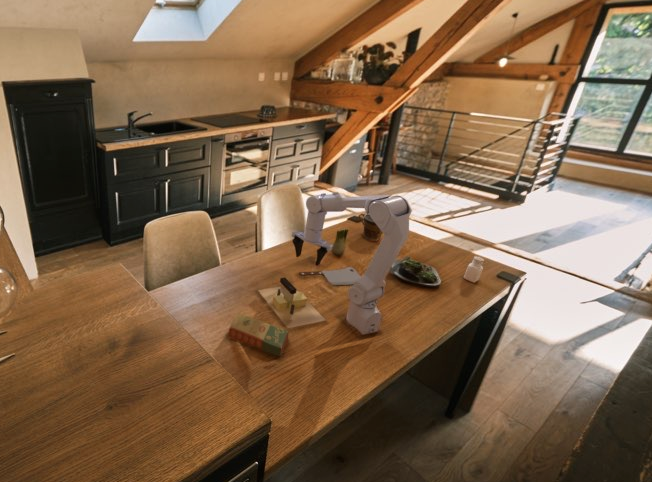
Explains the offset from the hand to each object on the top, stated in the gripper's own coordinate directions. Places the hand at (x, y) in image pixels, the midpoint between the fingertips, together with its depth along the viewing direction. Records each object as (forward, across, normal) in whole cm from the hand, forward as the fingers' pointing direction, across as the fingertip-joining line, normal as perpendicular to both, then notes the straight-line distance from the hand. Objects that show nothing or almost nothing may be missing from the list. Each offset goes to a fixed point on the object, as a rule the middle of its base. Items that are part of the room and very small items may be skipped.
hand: (307, 260), depth 139 cm
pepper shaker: (+10, -43, -52) cm, 68 cm away
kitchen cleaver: (+10, -5, -12) cm, 16 cm away
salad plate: (+10, -27, -38) cm, 47 cm away
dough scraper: (+6, -3, +18) cm, 19 cm away
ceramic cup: (+10, -2, -57) cm, 58 cm away
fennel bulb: (+10, +1, -30) cm, 32 cm away
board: (+10, -4, +16) cm, 19 cm away
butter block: (+9, -4, +14) cm, 17 cm away
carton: (+10, -5, +37) cm, 39 cm away
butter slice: (+9, -2, +20) cm, 22 cm away
